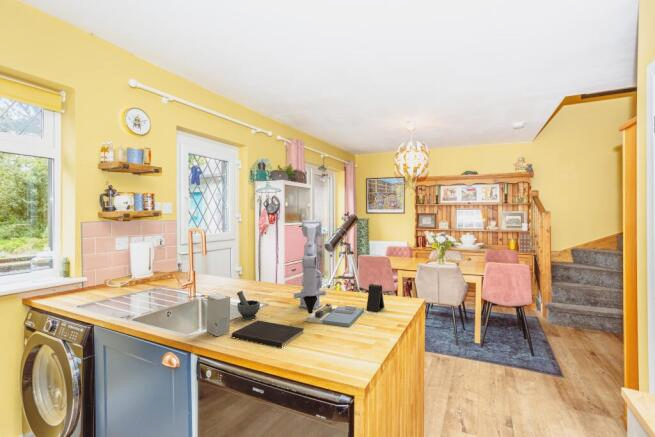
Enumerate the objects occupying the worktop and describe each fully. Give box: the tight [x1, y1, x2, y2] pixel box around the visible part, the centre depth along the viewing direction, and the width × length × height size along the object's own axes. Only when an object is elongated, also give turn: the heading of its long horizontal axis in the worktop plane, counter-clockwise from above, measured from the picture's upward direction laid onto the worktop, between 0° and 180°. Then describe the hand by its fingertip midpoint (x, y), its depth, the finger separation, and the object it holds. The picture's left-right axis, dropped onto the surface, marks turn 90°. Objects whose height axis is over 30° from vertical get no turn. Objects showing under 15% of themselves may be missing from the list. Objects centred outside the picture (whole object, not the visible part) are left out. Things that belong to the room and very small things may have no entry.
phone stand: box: [365, 283, 385, 313], centre depth 157 cm, size 9×6×12 cm, turn 149°
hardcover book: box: [231, 320, 305, 349], centre depth 124 cm, size 16×23×2 cm
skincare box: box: [205, 293, 231, 337], centre depth 127 cm, size 8×6×15 cm
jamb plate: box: [305, 304, 340, 324], centre depth 148 cm, size 7×22×2 cm, turn 158°
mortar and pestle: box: [236, 290, 261, 321], centre depth 144 cm, size 11×9×12 cm
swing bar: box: [315, 303, 333, 318], centre depth 145 cm, size 14×3×2 cm, turn 158°
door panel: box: [322, 304, 364, 328], centre depth 144 cm, size 12×22×3 cm, turn 158°
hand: (310, 313), depth 141 cm, fingers closed
